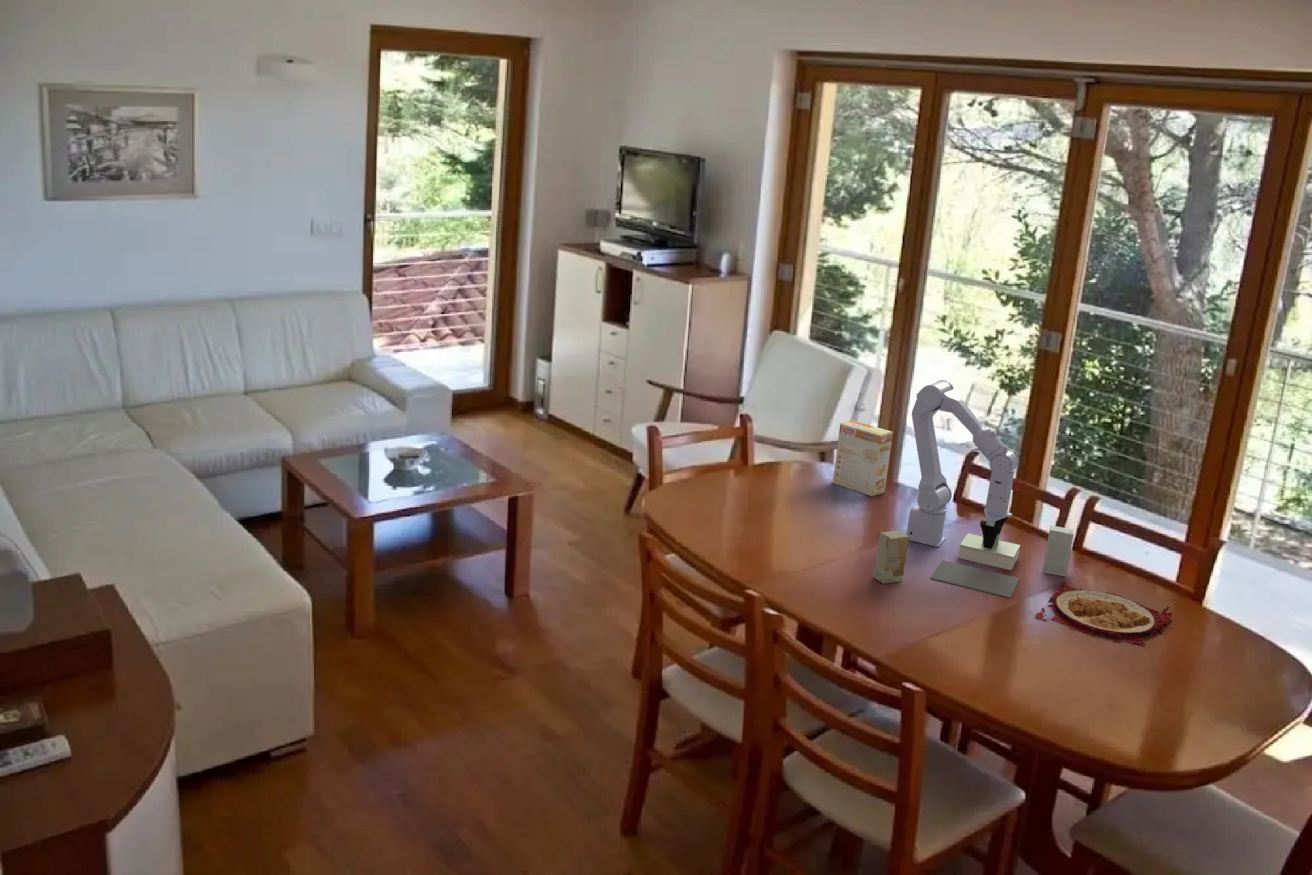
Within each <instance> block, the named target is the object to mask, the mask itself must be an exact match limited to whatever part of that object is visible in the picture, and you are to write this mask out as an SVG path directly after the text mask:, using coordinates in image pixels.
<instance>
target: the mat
mask: <svg viewBox="0 0 1312 875" xmlns="http://www.w3.org/2000/svg"><path fill="white" fill-rule="evenodd" d="M929 579H930V580H934V581H936V582H937V581H938V582H941V583H942V582H943V583H946V584H950V585H954V586H959V587H962V588H967V589H970V590H975V591H979V592H982V593H987V594H991V595H994V596H998V597H1003V598H1007V599H1011V598H1012V596H1013V594H1014V591H1015V590H1016V588H1017V586H1018V584H1019V583H1020V579H1021V578H1020V577H1015V576H1011V575H1006V574H1003V573H999V572H995V571H990V570H985V569H981V568H979V567H978V568H977V567H973V566H969V565H964V564H960V563H956V562H952V561H948V560H943V559H942V561H941V562H940V564H938V566H937V567H936V569H934V571H933V573H932V574H931V575H930V577H929Z"/></svg>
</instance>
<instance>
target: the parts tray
mask: <svg viewBox="0 0 1312 875" xmlns="http://www.w3.org/2000/svg"><path fill="white" fill-rule="evenodd" d="M1020 550H1021V547H1020V548H1019V550H1018V552H1017V554H1016V556H1015V558H1014V559H1013V560H1012V559H1008V558H1003V557H999V556H995V555H990V554H986V553H982V552H977V551H973V550H969V549H964V548H960V547H959V550H958V555H957V558H958V559H961V560H965V561H969V562H970V561H971V562H973V563H974V562H975V563H979V564H983V565H986V566H990V567H991V566H992V567H995V568H999V569H1004V570H1009V571H1012V570H1013V568H1014V567H1015V565H1016V563H1017V561H1018V558H1019V555H1020Z"/></svg>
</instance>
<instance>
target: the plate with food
mask: <svg viewBox="0 0 1312 875" xmlns="http://www.w3.org/2000/svg"><path fill="white" fill-rule="evenodd" d="M1048 602H1051V603H1052V604H1049V605H1047V606H1048V607H1049V608H1051V611H1053V613H1054V615H1053V616H1052V617H1051V620H1052V621H1053V622H1057V623H1058V624H1060V625H1065V626H1068V627H1069V628H1068V629H1070V630H1073V631H1075V629H1076V630H1077V631H1078V632H1081V634H1082V633H1084V634H1087V635H1089V634H1090V635H1091V636H1094V634H1096V635H1097V634H1099V635H1102V636H1106V637H1107V636H1109V637H1112V638H1114V639H1112V640H1113V643H1116V642H1119V643H1128V644H1129V645H1131V646H1132V647H1133V646H1134V647H1136V645H1135V643H1136V644H1138V647H1140V646H1141V647H1142V648H1145V647H1146V643H1145V642H1144V641H1143V639H1146V637H1147V634H1148V636H1153V637H1151V639H1153V640H1154V638H1158V635H1159V634H1160V635H1162V634H1163V629H1161V627H1163V626H1166V627H1167V624H1168V623H1169V621H1170V618H1172V615H1173V612H1168V610H1169V609H1170V608H1171V607H1170V606H1166V607H1165V608H1163V609H1162V611H1161V610H1159V611H1158V610H1156V609H1153V608H1150V607H1147V606H1145V605H1143V604H1141V603H1139V602H1138V601H1134V600H1131V599H1129V598H1128V597H1124V596H1122V595H1119V594H1115V593H1114V592H1108V591H1102V590H1095V589H1094V590H1092V589H1082V588H1080V589H1079V588H1077V587H1076V588H1075V587H1072V586H1070V585H1068V584H1067V583H1066V582H1062V584H1060V585H1059V587H1058V588H1057V590H1056V591H1055V592H1054V594H1053V595H1052V596H1051V597H1049V600H1048ZM1045 613H1046V610H1045V608H1044V607H1042V608H1041V612H1038V613H1035V617H1037V618H1038V620H1040V621H1043V620H1044V622H1048V619H1046V618H1045V617H1047V614H1046V615H1044V614H1045ZM1158 632H1159V633H1158ZM1141 636H1142V637H1141ZM1115 638H1117V639H1115ZM1119 639H1121V640H1119ZM1123 639H1128V640H1124V641H1122V640H1123Z"/></svg>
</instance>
